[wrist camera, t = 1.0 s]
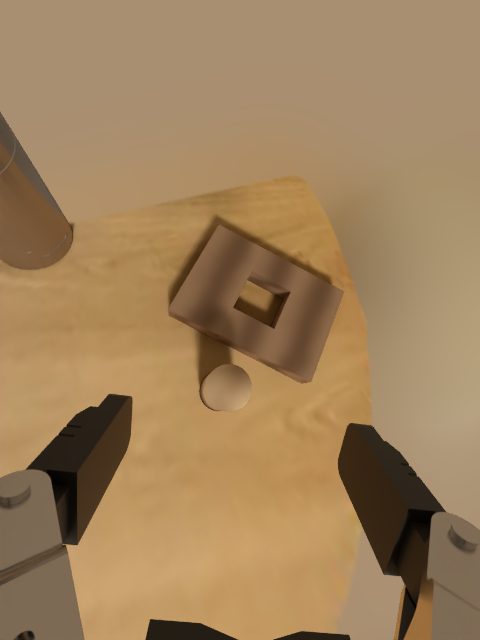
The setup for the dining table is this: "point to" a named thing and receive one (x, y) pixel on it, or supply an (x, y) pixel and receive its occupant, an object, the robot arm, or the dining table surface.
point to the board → (244, 331)
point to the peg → (226, 388)
